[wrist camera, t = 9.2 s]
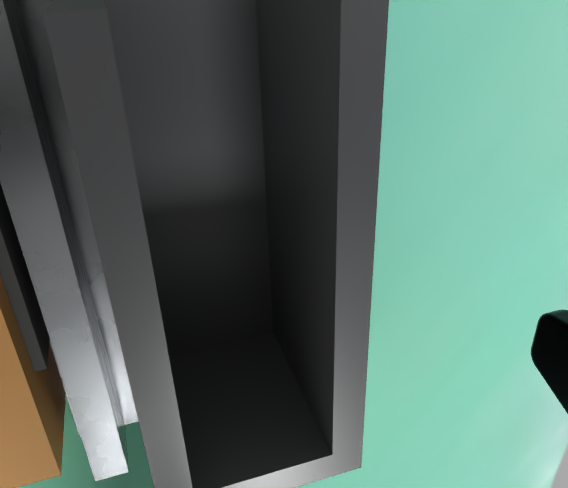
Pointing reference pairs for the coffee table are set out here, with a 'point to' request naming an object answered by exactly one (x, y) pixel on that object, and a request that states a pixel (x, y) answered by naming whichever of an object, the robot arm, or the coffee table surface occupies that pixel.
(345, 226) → the chute
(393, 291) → the coffee table surface
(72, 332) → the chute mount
